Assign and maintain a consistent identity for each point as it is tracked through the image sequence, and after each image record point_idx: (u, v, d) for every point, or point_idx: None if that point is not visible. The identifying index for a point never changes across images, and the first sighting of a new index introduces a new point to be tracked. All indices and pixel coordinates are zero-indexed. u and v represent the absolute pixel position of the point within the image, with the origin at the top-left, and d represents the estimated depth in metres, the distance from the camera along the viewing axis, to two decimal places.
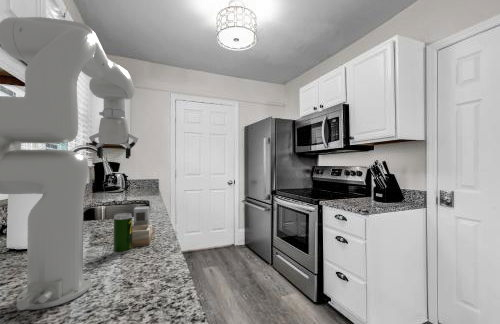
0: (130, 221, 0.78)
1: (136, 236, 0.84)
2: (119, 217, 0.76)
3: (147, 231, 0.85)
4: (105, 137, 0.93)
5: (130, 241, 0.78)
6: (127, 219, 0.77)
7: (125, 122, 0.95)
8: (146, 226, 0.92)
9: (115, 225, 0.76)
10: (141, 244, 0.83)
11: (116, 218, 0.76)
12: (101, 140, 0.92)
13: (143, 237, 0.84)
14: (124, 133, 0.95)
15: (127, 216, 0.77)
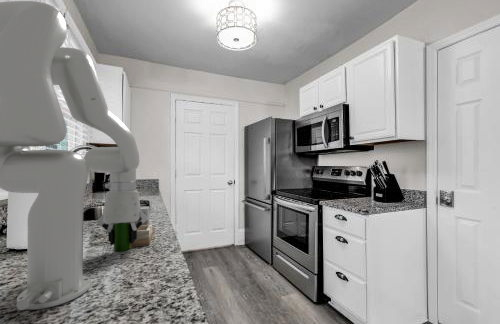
0: None
1: None
2: None
3: (147, 231, 0.85)
4: (112, 217, 0.75)
5: (130, 241, 0.78)
6: None
7: (136, 196, 0.78)
8: (146, 226, 0.92)
9: (115, 225, 0.76)
10: (141, 244, 0.83)
11: None
12: (107, 221, 0.75)
13: (143, 237, 0.84)
14: (135, 210, 0.77)
15: None
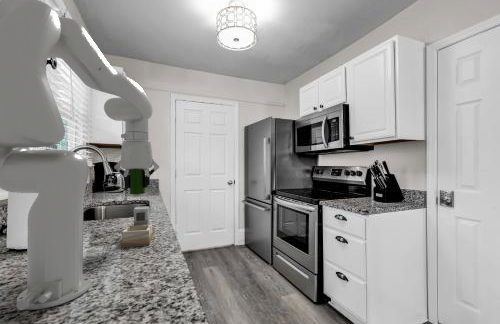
0: None
1: (136, 236, 0.84)
2: None
3: (147, 231, 0.85)
4: (128, 163, 0.84)
5: (144, 186, 0.87)
6: None
7: (149, 145, 0.86)
8: (146, 226, 0.92)
9: (131, 170, 0.85)
10: (141, 244, 0.83)
11: None
12: (124, 166, 0.83)
13: (143, 237, 0.84)
14: (148, 157, 0.86)
15: None
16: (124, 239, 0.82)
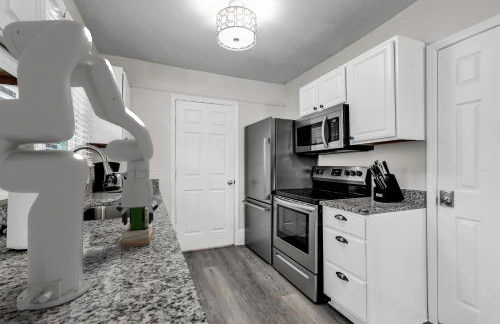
0: (144, 209, 0.88)
1: (136, 236, 0.84)
2: None
3: (147, 231, 0.85)
4: (129, 202, 0.84)
5: (144, 226, 0.87)
6: (141, 207, 0.86)
7: (150, 183, 0.87)
8: (146, 226, 0.92)
9: (131, 212, 0.85)
10: (141, 244, 0.83)
11: None
12: (125, 205, 0.84)
13: (143, 237, 0.84)
14: (149, 196, 0.86)
15: None
16: (124, 239, 0.82)
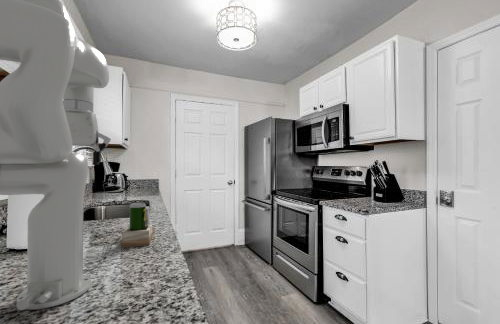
0: (144, 209, 0.87)
1: (136, 236, 0.84)
2: (135, 205, 0.85)
3: (147, 231, 0.85)
4: None
5: (144, 227, 0.87)
6: (142, 207, 0.86)
7: (92, 117, 0.73)
8: (146, 226, 0.92)
9: (131, 212, 0.85)
10: (141, 244, 0.83)
11: (132, 206, 0.85)
12: None
13: (143, 237, 0.84)
14: (91, 131, 0.72)
15: (142, 205, 0.86)
16: (124, 239, 0.82)
